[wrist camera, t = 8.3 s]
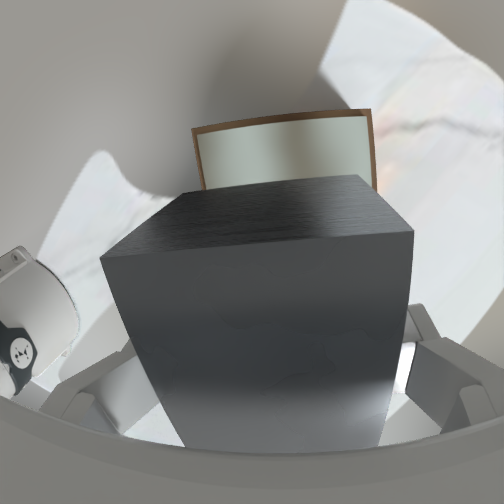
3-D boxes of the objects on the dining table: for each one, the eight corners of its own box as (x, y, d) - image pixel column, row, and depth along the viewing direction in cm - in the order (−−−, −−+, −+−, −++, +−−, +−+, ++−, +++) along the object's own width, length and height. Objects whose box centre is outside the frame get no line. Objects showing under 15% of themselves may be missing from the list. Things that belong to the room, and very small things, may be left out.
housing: (183, 193, 9) (98, 257, 5) (357, 174, 8) (414, 230, 4) (238, 410, 13) (218, 497, 9) (351, 406, 12) (359, 497, 8)
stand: (236, 249, 31) (219, 289, 24) (216, 125, 26) (188, 129, 19) (360, 239, 29) (378, 277, 22) (352, 110, 24) (373, 108, 17)
